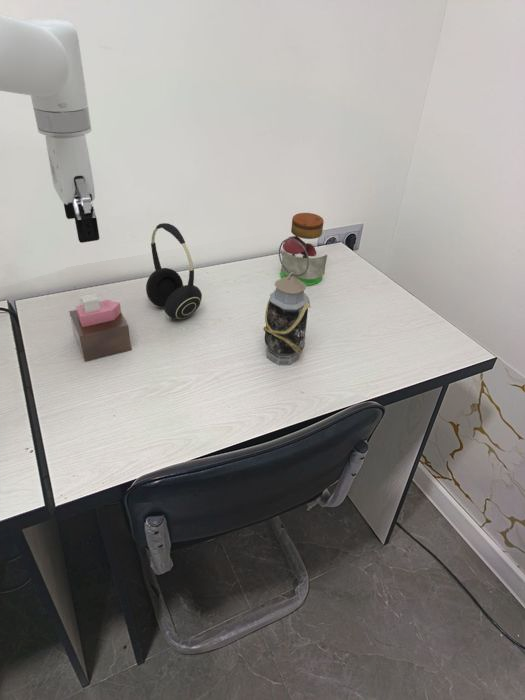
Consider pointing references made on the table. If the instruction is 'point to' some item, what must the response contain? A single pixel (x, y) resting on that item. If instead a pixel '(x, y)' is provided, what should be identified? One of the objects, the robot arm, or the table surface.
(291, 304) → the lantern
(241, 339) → the table surface
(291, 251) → the brown red grey stack
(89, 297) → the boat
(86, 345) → the block
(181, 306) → the headphones
